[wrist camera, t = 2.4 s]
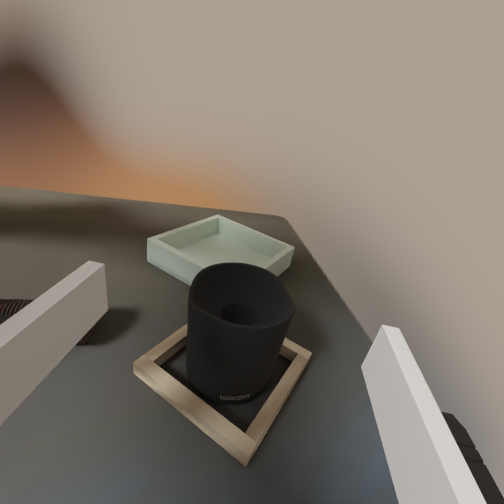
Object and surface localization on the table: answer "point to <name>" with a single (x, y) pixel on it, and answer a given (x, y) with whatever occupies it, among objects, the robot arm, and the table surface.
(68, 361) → the table surface
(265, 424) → the square wooden frame
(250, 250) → the bin
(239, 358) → the pen holder
